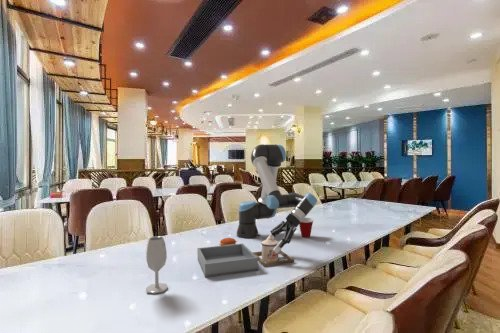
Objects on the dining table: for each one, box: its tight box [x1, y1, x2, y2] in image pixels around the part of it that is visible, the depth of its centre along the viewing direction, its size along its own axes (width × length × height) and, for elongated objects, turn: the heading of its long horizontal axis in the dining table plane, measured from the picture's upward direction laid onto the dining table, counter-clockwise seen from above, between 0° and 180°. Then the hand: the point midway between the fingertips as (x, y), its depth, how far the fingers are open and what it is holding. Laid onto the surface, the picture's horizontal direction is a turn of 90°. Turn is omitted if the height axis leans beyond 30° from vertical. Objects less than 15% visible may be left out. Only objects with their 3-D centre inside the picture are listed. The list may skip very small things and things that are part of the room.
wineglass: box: [145, 235, 169, 295], centre depth 117 cm, size 9×9×21 cm
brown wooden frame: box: [251, 250, 295, 268], centre depth 153 cm, size 18×16×2 cm
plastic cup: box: [298, 217, 315, 239], centre depth 196 cm, size 11×11×12 cm
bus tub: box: [196, 243, 259, 278], centre depth 145 cm, size 25×25×6 cm
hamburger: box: [218, 237, 238, 246], centre depth 170 cm, size 9×10×7 cm
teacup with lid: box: [260, 236, 282, 263], centre depth 152 cm, size 12×9×12 cm
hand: (269, 248), depth 152 cm, fingers open, 13 cm apart
